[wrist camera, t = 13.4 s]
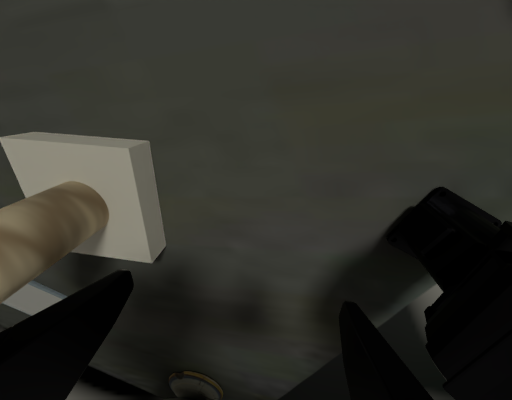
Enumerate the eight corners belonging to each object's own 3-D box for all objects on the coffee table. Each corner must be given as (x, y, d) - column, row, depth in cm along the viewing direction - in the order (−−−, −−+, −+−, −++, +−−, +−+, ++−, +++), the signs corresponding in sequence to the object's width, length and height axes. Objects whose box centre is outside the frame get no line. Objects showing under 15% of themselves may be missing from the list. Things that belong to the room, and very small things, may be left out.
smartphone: (88, 340, 37) (-3, 301, 35) (93, 334, 38) (4, 296, 36) (97, 313, 33) (-5, 268, 32) (102, 307, 34) (3, 263, 32)
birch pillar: (119, 214, 21) (-82, 363, 10) (89, 238, 23) (-111, 388, 11) (74, 170, 20) (-230, 283, 8) (46, 199, 22) (-236, 327, 10)
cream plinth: (149, 141, 21) (128, 148, 18) (166, 245, 26) (152, 263, 23) (34, 131, 22) (-2, 137, 19) (72, 233, 27) (49, 248, 25)
